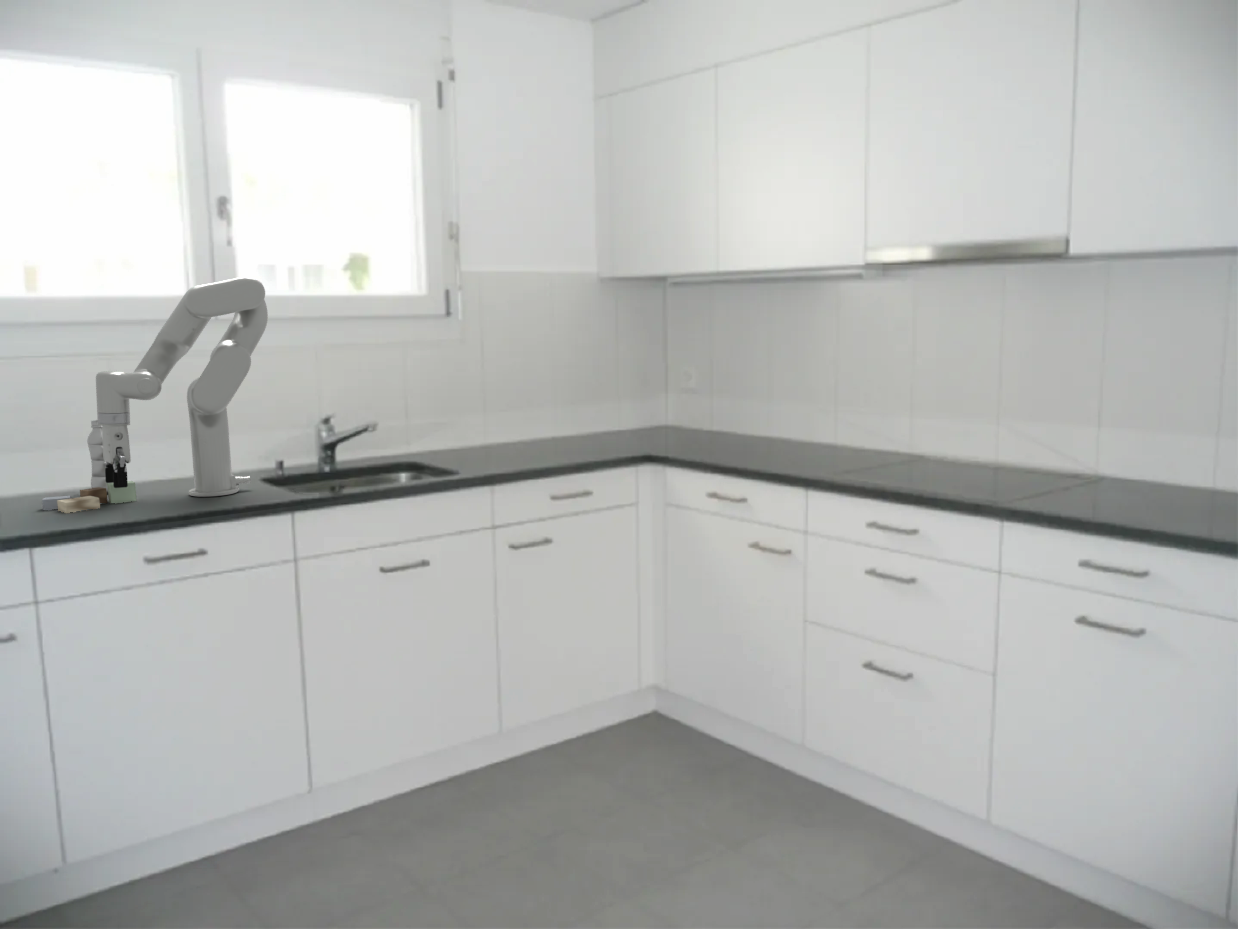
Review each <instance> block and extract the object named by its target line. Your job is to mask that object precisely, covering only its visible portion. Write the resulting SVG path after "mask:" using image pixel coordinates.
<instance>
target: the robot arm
mask: <svg viewBox="0 0 1238 929" xmlns="http://www.w3.org/2000/svg"><path fill="white" fill-rule="evenodd" d="M265 297H266V289H265V287H264V285H263V283H262V282H261V281H260V280H259V279H257V278H256V277H253V276H249V275H245V276H239V277H235V278H229V279H226V280H221V281H217V282H211V283H206V284H201V285H199V284H198V285H194V286H192V287H190V288H189V289H187V290H186V292H185V293H184V295H183V296H182V298H181V299H180V301H179V302H178V304H177V305H176V306H175V308H174V309H173V311H172V313H171V314H170V316H169V317H168V318H167V319H166V321H165V323H164V324H163V325H162V327H161V329H160V330H159V332H158V333H157V335H156V336H155V339H154V340H153V343H152V344H151V345H150V347H149V348H148V350H147V351H146V353H145V355H144V356H143V358H142V359H141V360H140V362H139V363H138V364H137V366H136V368H135V369H134V370H133V372H124V371H119V370H118V371H117V370H116V371H115V370H114V371H113V370H111V371H109V370H108V371H100V372H97V373H96V375H95V390H96V393H95V394H96V414H97V419H96V420H98V426H102V444H103V457H104V460H105V461H106V462H105V467H108V468H105V479H106V483H113V485H114V488H123V487H127V486H128V482H127V481H128V470H127V464H130V463H131V461H132V459H131V458H132V457H131V447H130V445H131V444H130V437H129V436H130V435H129V430H128V429H129V428H128V426H130V425H131V415H130V414H131V412H130V407H131V406H130V400H139V401H151V400H153V399H156V398H157V397H158V396H159V395H160V393H161V392H162V385H163V383H164V381H165V380H166V379H167V378H168V376H169V374H170V373H171V371H172V370H173V368H175V366H176V364H178V362H179V361H180V360H181V359H182V358H183V357H184V356H185V355H187V353H189V351H190V350H191V349H192V347H193V345H194V344H195V343H196V341H197V339H199V336H201V334H202V332H203V331H204V329H205V328H206V326H208V325H207V324H208V323H209V321H210V320H211V318H214V317H221V316H225V315H230V314H233V313H234V314H233V317H232V319H231V322H230V323H229V325H228V327H227V329H226V330H225V332H224V334H223V335H222V337H221V338H220V340H219V341H218V343H217V344H216V346H215V347H214V348H213V350H211V353H210V356H209V361H208V362H207V365H206V367H205V368H204V369H203V371H202V373H201V374H200V376H199V377H197V378H195V379H193V380H192V381H191V383H190V384H189V386H188V388H187V392H186V403H187V409H188V417H189V418H188V419H189V426H190V427H189V428H190V441H191V442H190V444H191V445H190V446H191V455H192V456H191V457H192V468H193V470H192V471H193V480H194V482H193V483H194V488H191V489H189V490H188V494H189V496H191V497H197V498H198V497H202V498H205V497H209V498H210V497H220V496H227V495H233V494H236V493H238V492H240V488H239V485H241V484H251V482H252V481H251V476H250V475H248V476H247V475H246V476H236V475H235V474H233V473H232V458H231V447H230V446H231V445H230V444H231V443H230V430H229V418H228V411H227V410H228V409H227V407H228V406H229V404H230V403H231V401H232V399H233V398H234V396H235V394H236V393H237V392H238V390H239V389H240V386H241V385H242V384H243V382H244V381H245V379H246V377H247V375H248V373H249V371H250V369H251V366H252V365H251V364H252V357H251V356H252V355H253V353H254V351H255V349H256V347H257V346H258V344H259V343H260V341H261V339H262V337H263V334H264V333H265V331H266V328H267V324H268V317H269V316H268V314H269V313H268V306H267V303H266V300H265Z"/></svg>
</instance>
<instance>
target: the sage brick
mask: <svg viewBox="0 0 1238 929" xmlns="http://www.w3.org/2000/svg"><path fill="white" fill-rule="evenodd" d="M127 482H128V486H127V487H123V488H114V485H113V483H107V488H108V493H107V500H108V503H110V504H111V503H115V504H123V502H124V503H130V502H131V501H132V502H137V500H138V499H137V490H136V482H135V481H133V480H127ZM132 502H131V503H132Z"/></svg>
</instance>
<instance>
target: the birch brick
mask: <svg viewBox="0 0 1238 929" xmlns="http://www.w3.org/2000/svg"><path fill="white" fill-rule="evenodd" d="M57 504H58V510H57V511H58V512H59V511H61V512H60V513H63V512H64V513H63V514H71V513H70V512H73V513H77V512H76V511H80V512H82V511H81V510H86V511H88V510H87V509H93V510H97V509H98V508H99V509H101V504H100V501H99V498H97V497H93V496H85V497H80V496H78V497H74V498H72V497H71V499H64V500H57Z"/></svg>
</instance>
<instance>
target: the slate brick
mask: <svg viewBox="0 0 1238 929" xmlns="http://www.w3.org/2000/svg"><path fill="white" fill-rule="evenodd" d="M71 498H72V495H61V496H47V497H43V498H42V499H41V504H42V511H43V510H48V511H53V510H52V509H58V504H57V500H64V499H71Z"/></svg>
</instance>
